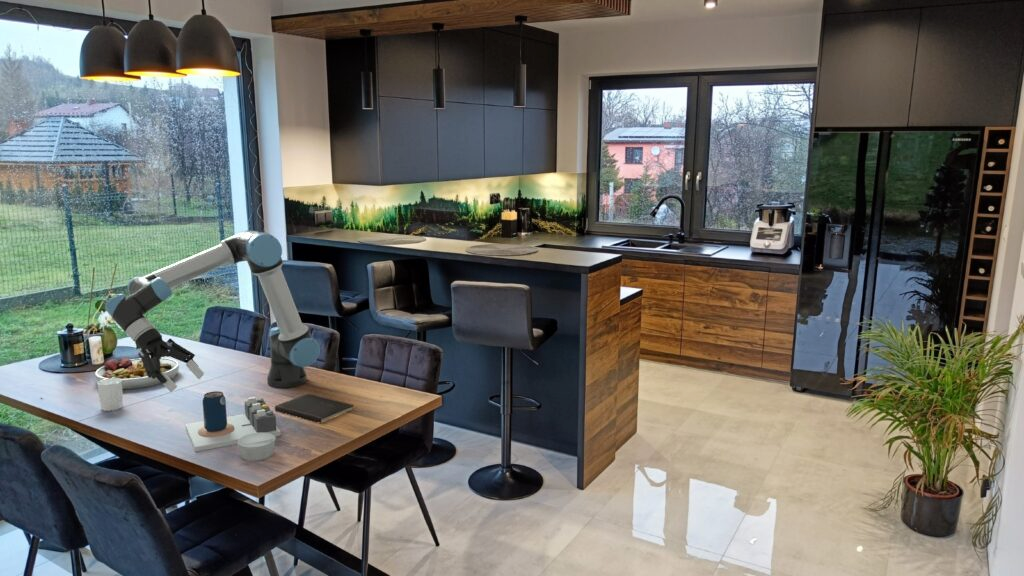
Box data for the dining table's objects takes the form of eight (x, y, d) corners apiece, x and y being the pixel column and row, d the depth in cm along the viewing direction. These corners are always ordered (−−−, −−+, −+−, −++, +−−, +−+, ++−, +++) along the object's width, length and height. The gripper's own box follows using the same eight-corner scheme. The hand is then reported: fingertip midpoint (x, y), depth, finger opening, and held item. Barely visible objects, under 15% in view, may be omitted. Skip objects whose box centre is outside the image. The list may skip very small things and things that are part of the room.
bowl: (194, 371, 305) (193, 353, 304) (147, 394, 276) (145, 374, 275) (131, 366, 310) (129, 349, 309) (78, 389, 281) (76, 369, 280)
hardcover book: (308, 399, 273) (308, 393, 273) (353, 411, 261) (353, 405, 261) (274, 412, 260) (274, 405, 259) (320, 425, 248) (320, 418, 248)
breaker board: (265, 414, 256) (264, 392, 254) (280, 435, 237) (279, 411, 236) (185, 428, 242) (183, 404, 241) (195, 451, 224) (193, 426, 222)
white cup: (100, 413, 255) (97, 386, 253) (98, 406, 262) (96, 379, 260) (125, 409, 259) (122, 382, 258) (123, 402, 266) (121, 376, 264)
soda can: (232, 427, 239) (229, 392, 236) (215, 434, 232) (213, 398, 230) (216, 423, 241) (213, 389, 239) (199, 431, 235) (197, 395, 233)
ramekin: (258, 466, 215) (257, 449, 214) (229, 458, 219) (228, 442, 218) (284, 452, 225) (283, 436, 224) (256, 445, 229) (255, 429, 228)
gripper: (164, 333, 250) (205, 378, 249) (109, 352, 226) (154, 402, 225) (176, 319, 247) (218, 364, 247) (122, 337, 223) (168, 387, 223)
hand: (188, 382), depth 236 cm, fingers open, 13 cm apart
